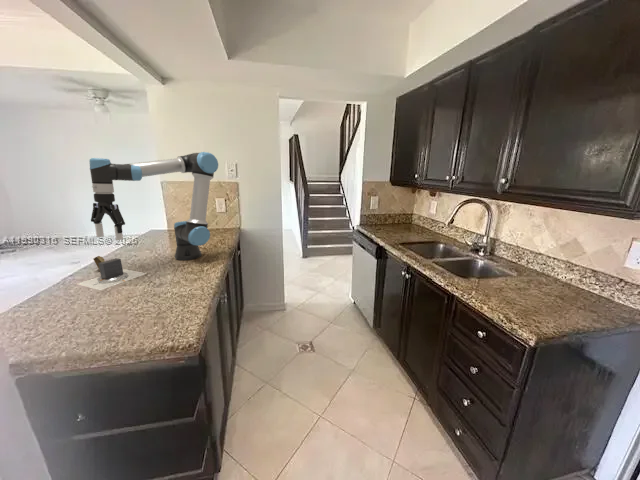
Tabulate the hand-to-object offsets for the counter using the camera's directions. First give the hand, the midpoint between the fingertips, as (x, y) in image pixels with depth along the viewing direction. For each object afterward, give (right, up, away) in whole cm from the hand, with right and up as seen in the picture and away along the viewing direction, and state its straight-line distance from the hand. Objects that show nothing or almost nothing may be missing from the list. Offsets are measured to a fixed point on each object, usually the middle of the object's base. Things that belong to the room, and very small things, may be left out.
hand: (109, 238), depth 129 cm
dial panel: (-2, -21, +5) cm, 22 cm away
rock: (-16, -18, +18) cm, 30 cm away
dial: (-2, -20, +5) cm, 20 cm away
